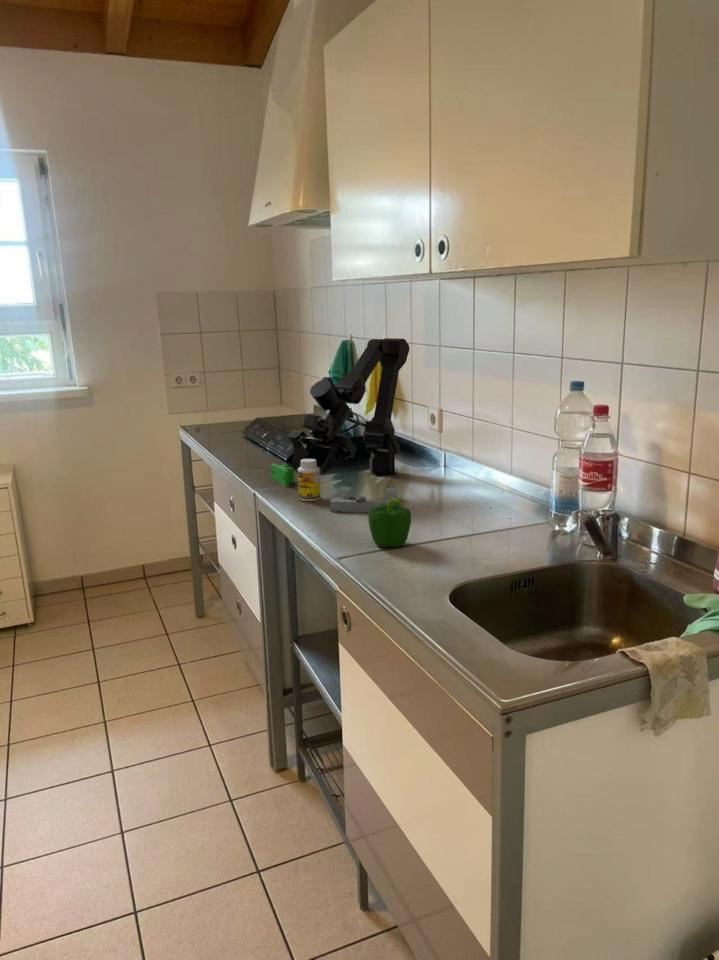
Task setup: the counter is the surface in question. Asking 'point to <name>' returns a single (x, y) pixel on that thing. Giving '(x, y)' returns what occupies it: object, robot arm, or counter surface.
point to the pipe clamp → (282, 474)
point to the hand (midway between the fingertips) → (307, 470)
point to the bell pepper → (389, 524)
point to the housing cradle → (358, 501)
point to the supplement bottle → (309, 480)
